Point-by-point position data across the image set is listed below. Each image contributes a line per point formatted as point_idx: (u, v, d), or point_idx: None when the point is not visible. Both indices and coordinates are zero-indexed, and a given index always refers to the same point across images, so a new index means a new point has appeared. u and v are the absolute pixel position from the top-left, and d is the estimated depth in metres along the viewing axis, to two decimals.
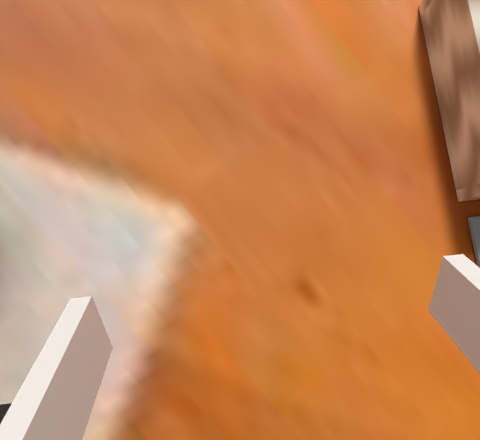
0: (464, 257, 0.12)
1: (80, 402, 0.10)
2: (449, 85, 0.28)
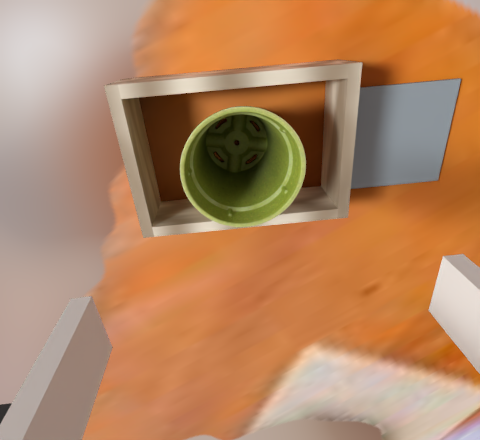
0: (464, 257, 0.12)
1: (80, 403, 0.10)
2: None
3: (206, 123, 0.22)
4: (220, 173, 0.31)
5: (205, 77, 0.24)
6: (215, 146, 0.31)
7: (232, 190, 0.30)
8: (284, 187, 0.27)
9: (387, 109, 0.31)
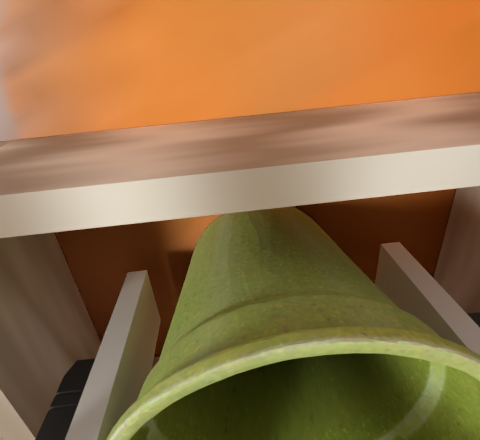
0: (399, 244, 0.13)
1: (144, 363, 0.11)
2: None
3: (180, 396, 0.05)
4: None
5: (180, 178, 0.07)
6: None
7: (256, 391, 0.13)
8: None
9: None
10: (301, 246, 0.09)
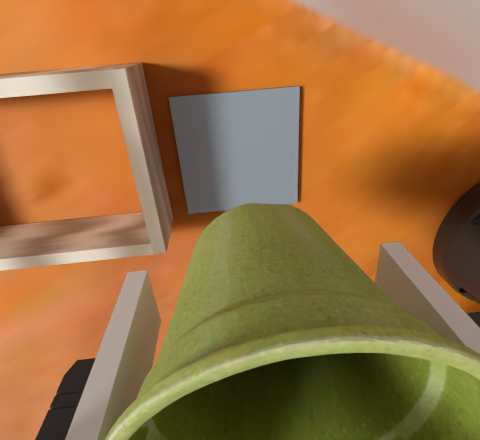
0: (399, 244, 0.13)
1: (144, 363, 0.11)
2: None
3: (179, 396, 0.05)
4: None
5: None
6: None
7: (256, 391, 0.13)
8: None
9: (216, 122, 0.26)
10: (301, 245, 0.09)
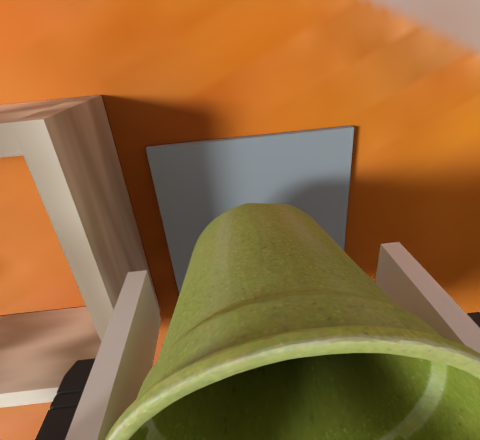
0: (399, 244, 0.13)
1: (144, 363, 0.11)
2: None
3: (179, 396, 0.05)
4: None
5: None
6: None
7: (256, 391, 0.13)
8: None
9: (222, 183, 0.16)
10: (301, 245, 0.09)
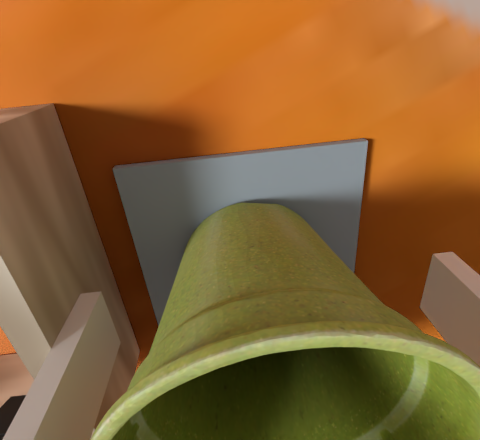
0: (453, 254, 0.12)
1: (91, 395, 0.10)
2: None
3: (164, 390, 0.05)
4: None
5: None
6: None
7: (247, 388, 0.13)
8: (391, 436, 0.10)
9: (208, 209, 0.14)
10: (288, 244, 0.10)
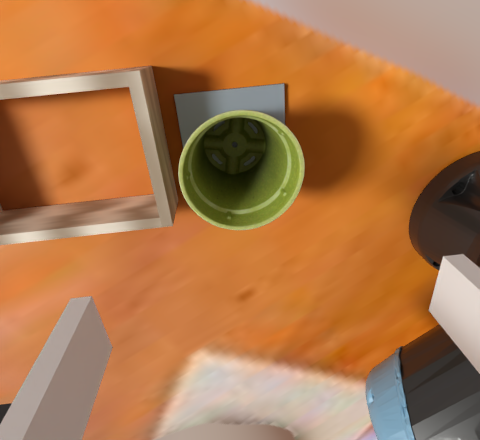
0: (464, 257, 0.12)
1: (80, 403, 0.10)
2: None
3: (204, 127, 0.22)
4: (218, 175, 0.31)
5: None
6: (213, 148, 0.31)
7: (231, 193, 0.30)
8: (283, 189, 0.27)
9: (214, 115, 0.30)
10: None
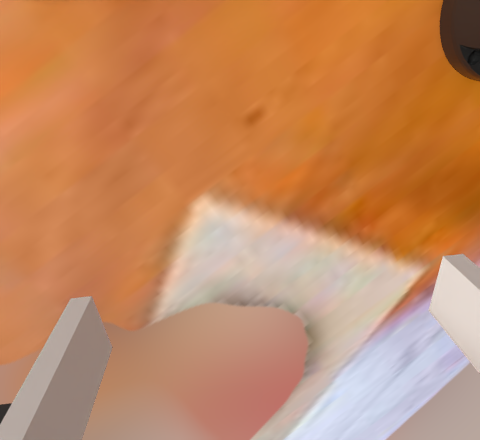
0: (464, 257, 0.12)
1: (80, 403, 0.10)
2: None
3: None
4: None
5: None
6: None
7: None
8: None
9: None
10: None
